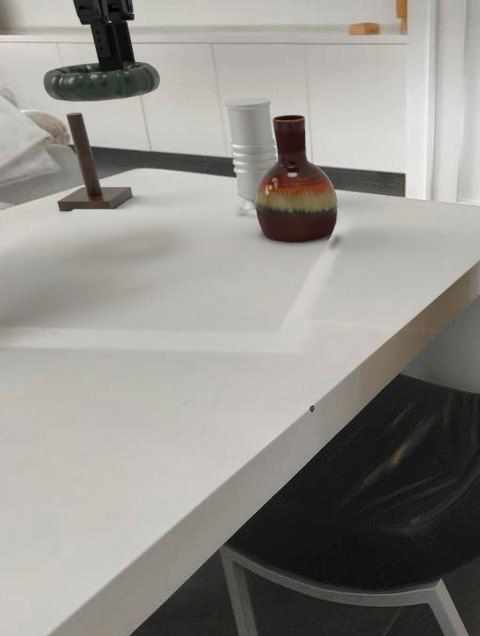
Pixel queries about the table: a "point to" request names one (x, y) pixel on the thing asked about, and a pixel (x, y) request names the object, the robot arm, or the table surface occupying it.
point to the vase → (295, 190)
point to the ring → (100, 82)
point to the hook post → (89, 175)
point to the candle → (251, 144)
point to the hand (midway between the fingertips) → (122, 84)
